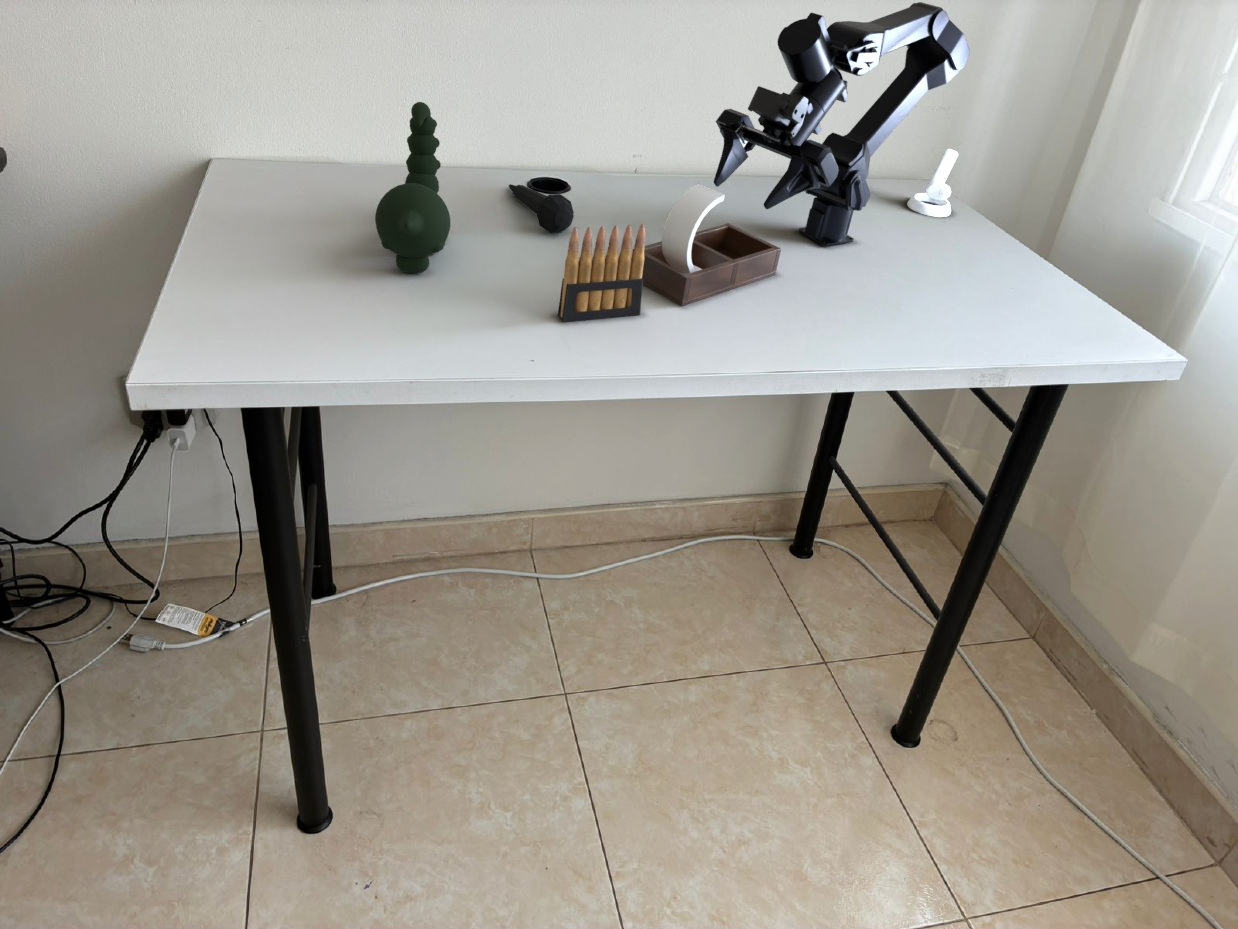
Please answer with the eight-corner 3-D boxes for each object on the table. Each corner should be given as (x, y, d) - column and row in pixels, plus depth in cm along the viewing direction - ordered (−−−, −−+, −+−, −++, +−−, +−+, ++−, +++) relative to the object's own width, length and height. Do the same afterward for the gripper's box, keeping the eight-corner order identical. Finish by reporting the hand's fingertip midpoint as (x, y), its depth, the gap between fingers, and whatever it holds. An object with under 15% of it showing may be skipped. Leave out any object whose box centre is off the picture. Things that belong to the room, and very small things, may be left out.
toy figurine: (391, 227, 139) (369, 288, 118) (388, 91, 129) (364, 131, 108) (456, 232, 140) (446, 293, 119) (458, 97, 130) (447, 138, 109)
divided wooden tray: (723, 248, 142) (728, 222, 140) (775, 274, 137) (781, 248, 134) (628, 276, 131) (632, 248, 128) (681, 306, 125) (686, 278, 123)
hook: (965, 171, 170) (978, 160, 163) (937, 232, 171) (949, 223, 164) (927, 154, 171) (939, 142, 164) (899, 215, 171) (909, 206, 164)
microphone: (500, 209, 153) (552, 244, 138) (489, 175, 149) (541, 207, 134) (530, 196, 154) (584, 229, 139) (520, 162, 151) (574, 192, 136)
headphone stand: (709, 278, 131) (725, 194, 124) (680, 289, 127) (695, 203, 120) (685, 266, 133) (699, 183, 126) (656, 276, 130) (668, 191, 123)
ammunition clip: (562, 322, 118) (570, 231, 111) (557, 315, 119) (565, 224, 112) (640, 315, 122) (652, 226, 115) (634, 308, 123) (646, 220, 116)
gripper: (737, 46, 129) (669, 138, 128) (848, 84, 118) (774, 184, 118) (762, 100, 138) (699, 186, 138) (867, 139, 128) (798, 232, 128)
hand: (739, 195), depth 130 cm, fingers open, 9 cm apart
